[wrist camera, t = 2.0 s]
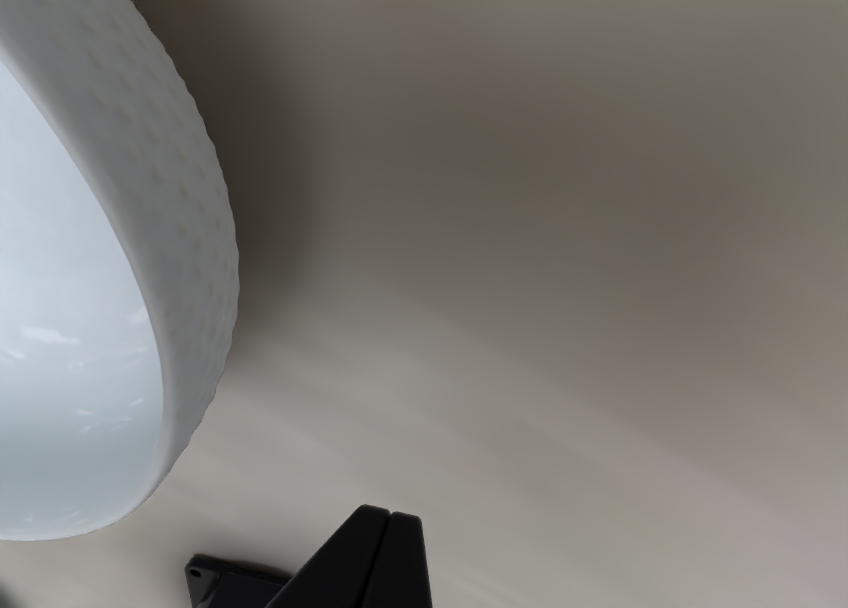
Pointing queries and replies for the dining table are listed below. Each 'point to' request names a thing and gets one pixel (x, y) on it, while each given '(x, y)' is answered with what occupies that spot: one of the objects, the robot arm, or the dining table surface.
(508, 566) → the dining table surface
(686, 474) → the dining table surface
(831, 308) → the dining table surface
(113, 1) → the cereal bowl
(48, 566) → the dining table surface
